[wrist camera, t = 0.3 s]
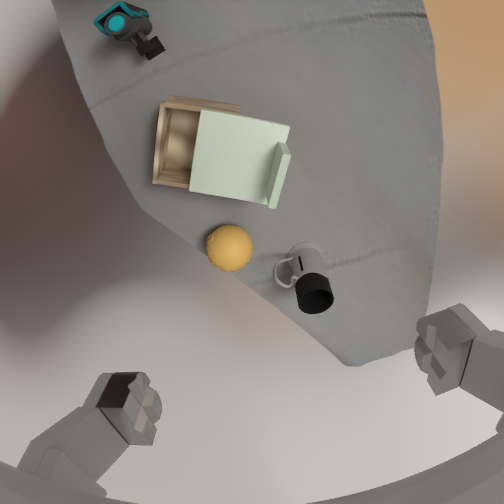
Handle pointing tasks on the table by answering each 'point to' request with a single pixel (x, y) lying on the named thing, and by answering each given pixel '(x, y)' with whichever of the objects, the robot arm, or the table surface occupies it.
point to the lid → (240, 157)
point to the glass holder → (308, 278)
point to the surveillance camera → (129, 27)
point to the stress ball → (229, 248)
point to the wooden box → (180, 137)
